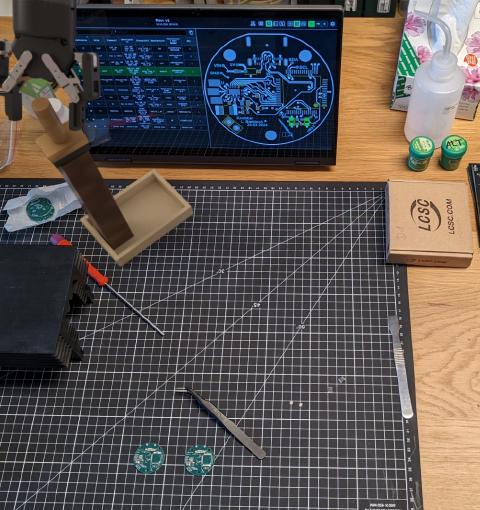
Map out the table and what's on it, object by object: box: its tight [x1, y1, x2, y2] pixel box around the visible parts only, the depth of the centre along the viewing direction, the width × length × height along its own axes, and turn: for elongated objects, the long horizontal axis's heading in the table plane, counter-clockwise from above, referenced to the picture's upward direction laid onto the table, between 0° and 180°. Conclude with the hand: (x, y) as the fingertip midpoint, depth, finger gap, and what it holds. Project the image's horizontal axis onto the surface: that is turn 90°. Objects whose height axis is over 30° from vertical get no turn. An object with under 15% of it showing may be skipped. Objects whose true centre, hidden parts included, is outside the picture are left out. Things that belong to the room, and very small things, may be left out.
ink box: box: [9, 71, 58, 120], centre depth 122 cm, size 7×4×13 cm, turn 62°
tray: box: [79, 168, 194, 267], centre depth 116 cm, size 17×12×4 cm
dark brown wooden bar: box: [57, 150, 134, 250], centre depth 103 cm, size 4×4×26 cm
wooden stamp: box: [31, 97, 91, 169], centre depth 87 cm, size 6×4×10 cm, turn 131°
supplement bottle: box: [48, 97, 69, 124], centre depth 121 cm, size 5×5×10 cm
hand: (45, 125), depth 85 cm, fingers open, 8 cm apart
